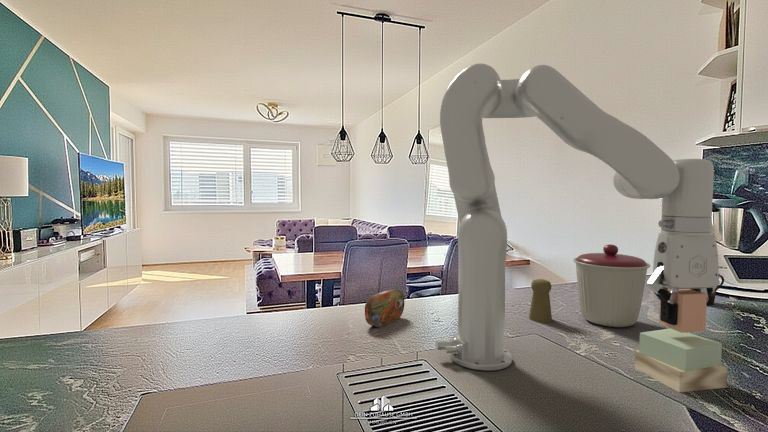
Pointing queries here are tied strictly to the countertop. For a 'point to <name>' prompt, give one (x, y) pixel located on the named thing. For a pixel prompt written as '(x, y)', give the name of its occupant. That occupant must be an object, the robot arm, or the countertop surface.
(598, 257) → the canister
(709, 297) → the coffee mug
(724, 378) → the bottom block
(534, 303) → the cork
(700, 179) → the robot arm
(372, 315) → the tin
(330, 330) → the countertop surface
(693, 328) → the terracotta block
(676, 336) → the top block
